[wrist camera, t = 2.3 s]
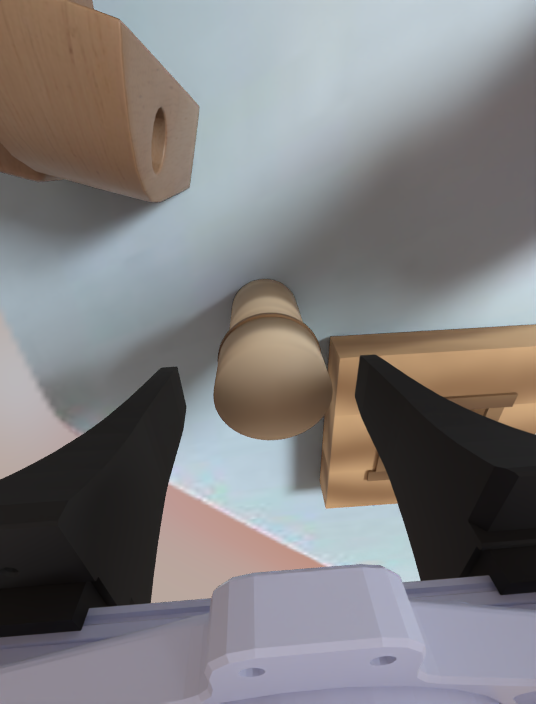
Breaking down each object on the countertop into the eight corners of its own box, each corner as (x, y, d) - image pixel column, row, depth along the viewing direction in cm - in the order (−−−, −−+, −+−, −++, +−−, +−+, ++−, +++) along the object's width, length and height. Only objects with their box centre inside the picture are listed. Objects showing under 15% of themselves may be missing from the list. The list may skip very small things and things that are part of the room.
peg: (221, 275, 17) (203, 348, 10) (303, 270, 17) (338, 341, 11) (229, 346, 20) (219, 444, 13) (301, 341, 20) (329, 437, 13)
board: (330, 336, 20) (340, 360, 17) (550, 323, 20) (589, 344, 18) (319, 480, 27) (326, 510, 25) (481, 469, 27) (502, 498, 25)
